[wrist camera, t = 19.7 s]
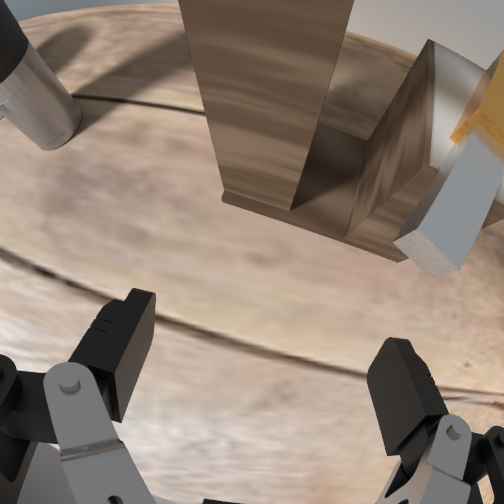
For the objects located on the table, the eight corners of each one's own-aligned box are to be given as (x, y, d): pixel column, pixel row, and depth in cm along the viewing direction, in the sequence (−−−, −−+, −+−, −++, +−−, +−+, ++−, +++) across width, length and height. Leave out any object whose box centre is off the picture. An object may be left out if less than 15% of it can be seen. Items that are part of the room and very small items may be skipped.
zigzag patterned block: (397, 262, 38) (622, 158, 6) (222, 202, 39) (152, -50, 8) (415, 167, 40) (559, 11, 9) (259, 112, 42) (261, -114, 10)
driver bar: (435, 283, 16) (477, 274, 12) (385, 236, 16) (419, 215, 12) (515, 107, 18) (539, 83, 14) (482, 75, 19) (504, 48, 15)
